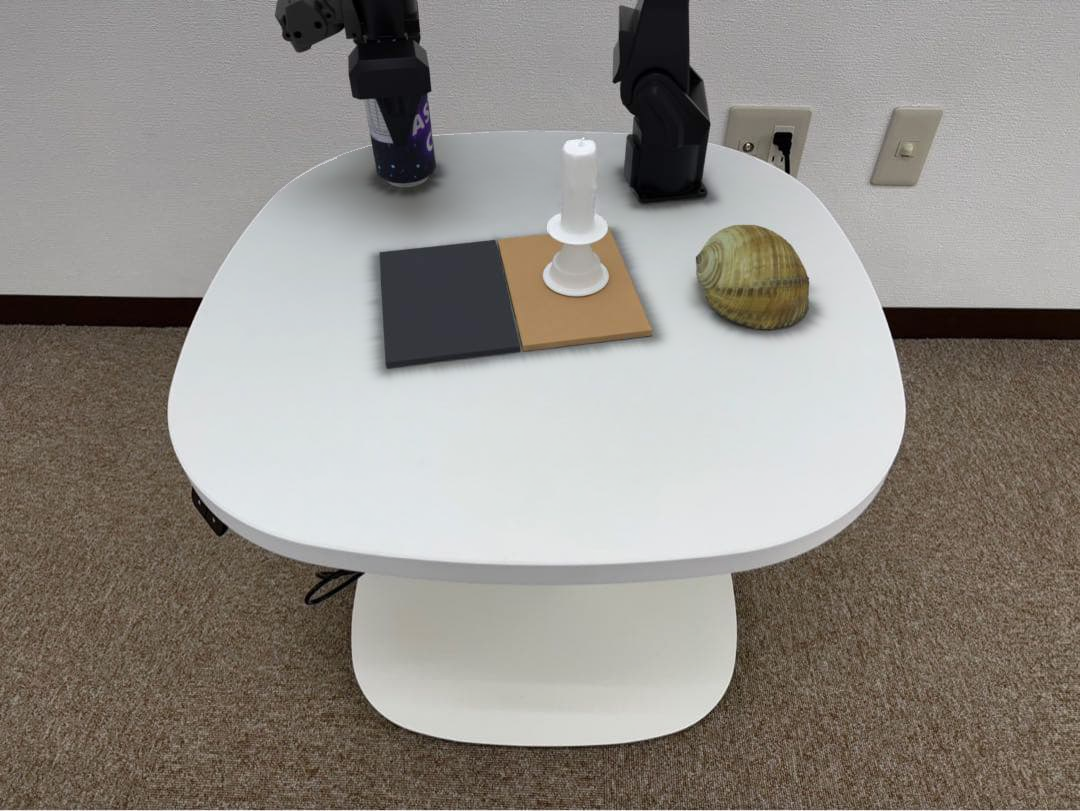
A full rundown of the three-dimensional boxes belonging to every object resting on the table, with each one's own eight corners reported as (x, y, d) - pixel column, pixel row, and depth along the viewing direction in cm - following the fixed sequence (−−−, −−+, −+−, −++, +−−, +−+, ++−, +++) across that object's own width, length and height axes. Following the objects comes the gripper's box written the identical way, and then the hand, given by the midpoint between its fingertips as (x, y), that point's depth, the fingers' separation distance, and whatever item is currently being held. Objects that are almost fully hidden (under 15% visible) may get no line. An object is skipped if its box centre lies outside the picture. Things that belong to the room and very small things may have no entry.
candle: (583, 250, 67) (587, 114, 59) (622, 282, 64) (633, 143, 56) (530, 272, 65) (527, 134, 57) (567, 306, 62) (570, 165, 54)
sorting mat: (609, 233, 70) (609, 227, 70) (651, 335, 61) (652, 329, 60) (380, 257, 68) (379, 251, 68) (386, 368, 58) (385, 362, 58)
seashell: (784, 332, 67) (792, 235, 66) (831, 333, 60) (841, 225, 59) (675, 325, 65) (682, 225, 64) (711, 325, 58) (719, 213, 57)
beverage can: (426, 194, 75) (410, 66, 66) (369, 188, 76) (345, 61, 67) (444, 164, 79) (430, 39, 70) (389, 158, 80) (369, 35, 71)
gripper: (275, -87, 68) (312, 92, 79) (259, -10, 55) (306, 190, 66) (406, -93, 69) (425, 84, 81) (420, -20, 57) (440, 178, 68)
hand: (398, 130), depth 74 cm, fingers closed on beverage can, 5 cm apart
